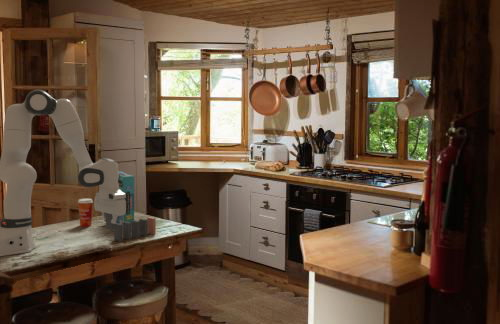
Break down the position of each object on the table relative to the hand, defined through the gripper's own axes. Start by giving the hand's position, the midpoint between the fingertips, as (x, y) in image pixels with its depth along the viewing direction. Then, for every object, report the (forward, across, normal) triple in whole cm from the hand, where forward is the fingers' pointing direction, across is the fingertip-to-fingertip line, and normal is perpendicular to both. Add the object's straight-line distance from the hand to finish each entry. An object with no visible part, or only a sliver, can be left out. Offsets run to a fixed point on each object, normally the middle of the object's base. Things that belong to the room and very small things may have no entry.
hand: (109, 222), depth 258 cm
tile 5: (+10, 0, +20) cm, 22 cm away
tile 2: (+10, 0, +5) cm, 11 cm away
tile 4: (+10, 0, +15) cm, 18 cm away
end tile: (+10, 0, +25) cm, 26 cm away
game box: (+10, -29, +29) cm, 42 cm away
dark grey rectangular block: (+3, 0, 0) cm, 3 cm away
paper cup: (+10, -38, +12) cm, 41 cm away
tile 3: (+10, 0, +10) cm, 14 cm away
